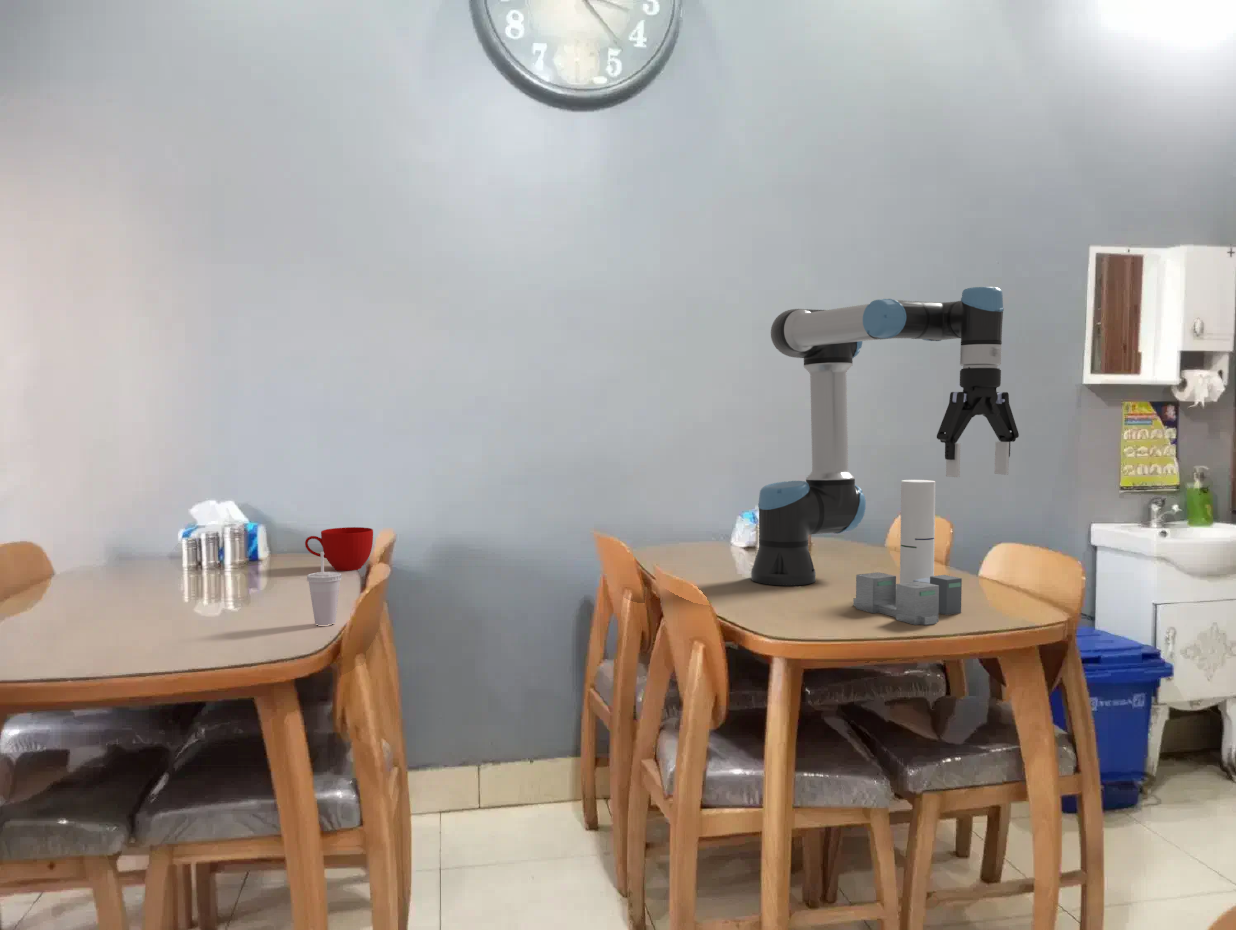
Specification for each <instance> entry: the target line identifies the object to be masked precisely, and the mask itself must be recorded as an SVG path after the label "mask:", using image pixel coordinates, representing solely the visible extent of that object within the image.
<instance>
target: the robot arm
mask: <svg viewBox="0 0 1236 930" xmlns="http://www.w3.org/2000/svg"><path fill="white" fill-rule="evenodd" d="M961 293H962V294H961V297H960V300H956V301H948V302H946V301H944V302H941V301H939V302H938V301H937V302H936V301H919V300H918V301H917V300H915V301H914V300H913V301H912V300H904V299H903V300H901V299H893V298H883V299H882V298H881V299H873V300H872V301H871V302H870V303H866V304H858V305H852V306H846V307H839V308H832V309H808V308H807V309H804V308H793V309H787V310H785V311H783V312H781V313H780V314H779V315H777V317H775V319H774V321H773V322H772V325H771V327H770V339H771V342H772V344H773V347H775V349H777V351H778V352H780V353H781V354H783V355H784V356H786V357H790V358H797V359H803V368H804V369H805V370H806V371H807V372H808V373H809V377H810V378H809V380H810V383H809V384H810V385H809V386H810V422H811V424H810V426H811V427H810V428H811V431H810V433H811V472H810V473H809V475H807V477H806V479H805V480H804V481H803V480H789V481H778V482H774V483H773V482H772V483H769V484H766V485H764V486H763V487H762V488H761V489H760V490H759V496H758V497H759V498H758V504H757V506H758V549H757V552H756V554H755V559H754V562H753V565H752V567H751V573H750V575H751V577H750V578H751V581H753V582H755V583H759V584H764V585H771V586H785V587H786V586H789V587H790V586H803V585H805V586H806V585H810V584H811V585H812V584H813V583H815V582H816V579H817V577H816V576H817V575H816V574H817V573H816V570H815V567H814V563H813V559H812V556H811V552H810V549H809V535H823V534H841V533H845V532H846V533H847V532H850V531H853V530H854V529H857V528H858V526H859V524H861V523H862V521H863V519H864V516H865V514H866V513H865V512H866V508H867V507H866V506H867V502H866V497H865V494H864V493H863V490H862V488H861V487H859V485H857V484H856V478H855V476H854V475H853V474H851V472H850V471H849V450H848V448H849V447H848V446H849V445H848V440H849V439H848V438H849V437H848V394H847V391H848V390H847V389H848V388H847V386H848V385H847V372H848V370H850V369H851V367H852V366H853V360H854V358H856V357H857V356H858V355H859V353H860V349H862V346H863V342H867V341H876V340H879V341H880V340H888V339H889V340H890V339H911V340H912V339H913V340H914V339H915V340H923V341H927V342H929V341H930V342H941V341H943V340H945V341H946V340H955V339H956V340H957V339H960V349H959V350H960V353H959V354H960V355H959V356H960V357H959V366H962V368H961V369H960V370H959V386H960V388H962V391H951V392H950V393H949V402H948V406H947V408H946V411H945V413H944V415H943V418H942V421H941V424H940V426H939V429H938V431H937V434H936V439H937V440H940V441H939V442H940V443H944V459H945V460H946V461H945V462H946V463H945V476H946V477H949V478H950V477H951V478H953V477H954V478H960V477H961V476H960V473H961V471H960V469H961V443H957V442H958V441H959V439H960V438H961V436H962V434H963V433H964V431H965V429H966V428H967V426H968V425H969V423H970V422H971V420H972V418H974V417H975V416H981V415H982V416H983V417H985V418H986V420H987V421H988V423H989V425H990V427H991V429H992V430H993V433H994V435H996V437H997V439H998V441H995V446H994V447H995V449H994V450H995V451H994V474H995V475H1004V476H1005V475H1006V476H1007V475H1008V476H1009V460H1010V456H1011V442H1013V443H1014V442H1015V441H1016V439H1018V438H1019V437H1020V434H1019V431H1018V427H1017V423H1016V420H1015V418H1014V415H1013V412H1012V408H1011V405H1010V395H1009V393H1008V392H1007V391H997V389H998V388H999V387H1000V386H1001V383H1002V382H1001V381H1002V377H1001V376H1002V370H1001V369H1000V368H999V367H998V366H1000V365H1001V364H1002V344H1003V341H1002V336H1003V335H1002V334H1003V319H1004V318H1003V317H1004V309H1005V308H1004V300H1003V291H1002V289H1000V288H999V287H996V286H975V287H974V286H973V287H972V286H971V287H968V288H965V289H963V290H962V292H961Z"/></svg>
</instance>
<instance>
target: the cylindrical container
mask: <svg viewBox="0 0 1236 930" xmlns="http://www.w3.org/2000/svg"><path fill="white" fill-rule="evenodd" d="M900 483H901V484H900V491H901V492H900V539H899V540H900V545H899V546H900V549H899V550H900V552H899V553H900V554H899V560H900V561H899V584H901V583H910V582H913V580H917V579H922V578H930V576H935V532H936V530H935V529H936V528H935V527H936V526H935V525H936V521H935V519H936V481H935V480H927V479H904V480H903V479H902V480H901V481H900Z"/></svg>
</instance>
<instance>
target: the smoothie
mask: <svg viewBox="0 0 1236 930" xmlns="http://www.w3.org/2000/svg"><path fill="white" fill-rule="evenodd" d="M320 554H321V557H320V571H318V572H313V573H309V574H307V575H306V582H308V587H309V591H310V599H311V604H312V612H313V613H312V614H313V619H314V625H315V624H318V625H328V624H332V623H335V624H336V622H337V621H336V620H337V613H338V611H337V610H338V601H339V595H340V594H339V593H340V583H341V580H342V573H340V572H338V571H325V558H324V551H320Z"/></svg>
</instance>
